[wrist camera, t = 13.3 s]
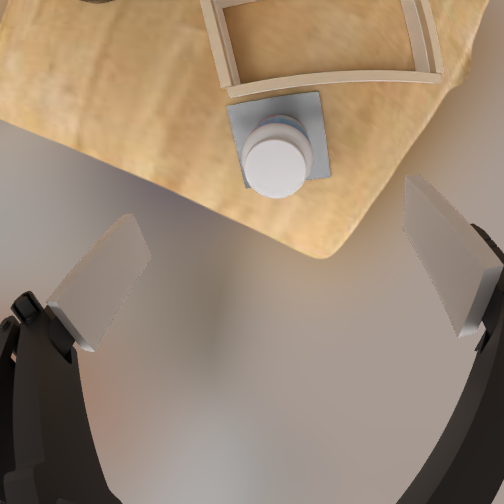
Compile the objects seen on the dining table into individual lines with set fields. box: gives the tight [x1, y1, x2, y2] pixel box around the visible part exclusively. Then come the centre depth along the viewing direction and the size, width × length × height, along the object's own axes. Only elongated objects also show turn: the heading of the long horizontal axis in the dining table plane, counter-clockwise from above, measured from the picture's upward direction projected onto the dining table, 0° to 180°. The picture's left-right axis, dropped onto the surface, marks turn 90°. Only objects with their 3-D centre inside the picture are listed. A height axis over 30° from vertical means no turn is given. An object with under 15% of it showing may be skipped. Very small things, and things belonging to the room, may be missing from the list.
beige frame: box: [199, 0, 444, 98], centre depth 20 cm, size 12×22×5 cm, turn 102°
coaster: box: [226, 91, 331, 188], centre depth 29 cm, size 10×10×1 cm
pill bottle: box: [241, 115, 313, 199], centre depth 24 cm, size 6×6×11 cm
